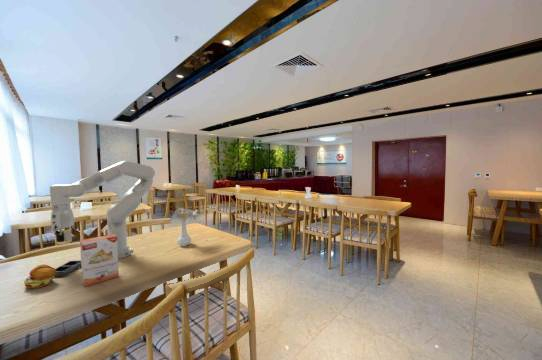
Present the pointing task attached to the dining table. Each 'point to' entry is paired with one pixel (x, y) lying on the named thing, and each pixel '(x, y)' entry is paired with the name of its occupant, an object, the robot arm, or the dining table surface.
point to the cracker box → (99, 259)
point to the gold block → (65, 236)
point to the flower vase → (184, 225)
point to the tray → (67, 268)
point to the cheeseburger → (40, 276)
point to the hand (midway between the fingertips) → (64, 239)
